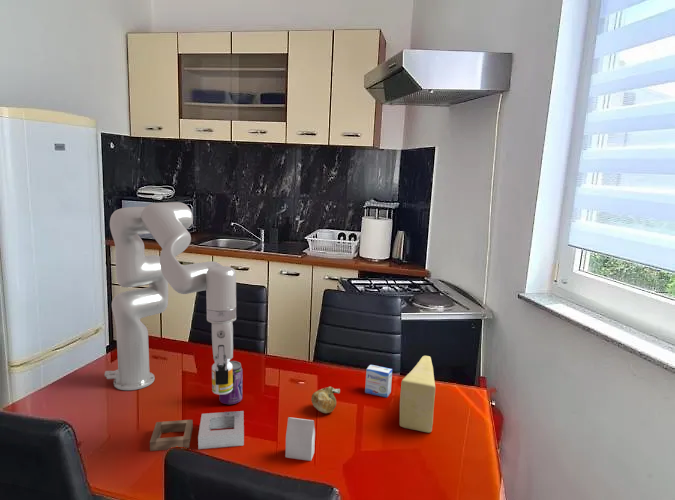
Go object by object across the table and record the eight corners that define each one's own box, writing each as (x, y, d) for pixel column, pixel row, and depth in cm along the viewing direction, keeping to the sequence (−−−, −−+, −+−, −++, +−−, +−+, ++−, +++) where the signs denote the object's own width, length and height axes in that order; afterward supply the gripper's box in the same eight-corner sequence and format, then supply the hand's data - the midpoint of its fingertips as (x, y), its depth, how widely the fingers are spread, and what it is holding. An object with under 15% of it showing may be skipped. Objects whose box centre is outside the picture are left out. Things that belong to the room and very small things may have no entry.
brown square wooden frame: (150, 451, 118) (149, 442, 118) (156, 430, 127) (156, 422, 127) (189, 447, 120) (188, 439, 120) (192, 427, 129) (192, 419, 129)
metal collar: (198, 449, 120) (198, 436, 119) (201, 425, 131) (201, 413, 130) (243, 445, 122) (243, 433, 121) (243, 422, 133) (243, 410, 133)
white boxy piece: (311, 461, 117) (312, 424, 115) (285, 457, 118) (286, 421, 116) (314, 452, 120) (315, 417, 119) (289, 448, 121) (290, 413, 120)
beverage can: (236, 407, 141) (236, 370, 139) (215, 404, 142) (215, 368, 140) (246, 396, 148) (246, 361, 146) (225, 394, 149) (225, 359, 147)
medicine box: (364, 393, 153) (365, 368, 152) (368, 387, 158) (370, 363, 156) (387, 398, 151) (388, 373, 149) (391, 392, 155) (392, 368, 153)
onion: (321, 401, 147) (321, 378, 145) (341, 410, 142) (342, 385, 141) (305, 411, 140) (306, 386, 139) (326, 420, 136) (327, 395, 135)
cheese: (410, 393, 154) (413, 351, 152) (439, 399, 151) (443, 356, 149) (397, 427, 134) (400, 379, 131) (431, 434, 131) (435, 385, 128)
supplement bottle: (236, 388, 126) (236, 354, 124) (225, 396, 121) (225, 361, 119) (219, 384, 127) (219, 351, 126) (208, 393, 122) (207, 358, 121)
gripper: (235, 323, 113) (236, 392, 116) (236, 304, 130) (237, 365, 132) (204, 324, 111) (205, 394, 114) (208, 305, 128) (210, 366, 131)
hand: (222, 378), depth 123 cm, fingers closed on supplement bottle, 5 cm apart
